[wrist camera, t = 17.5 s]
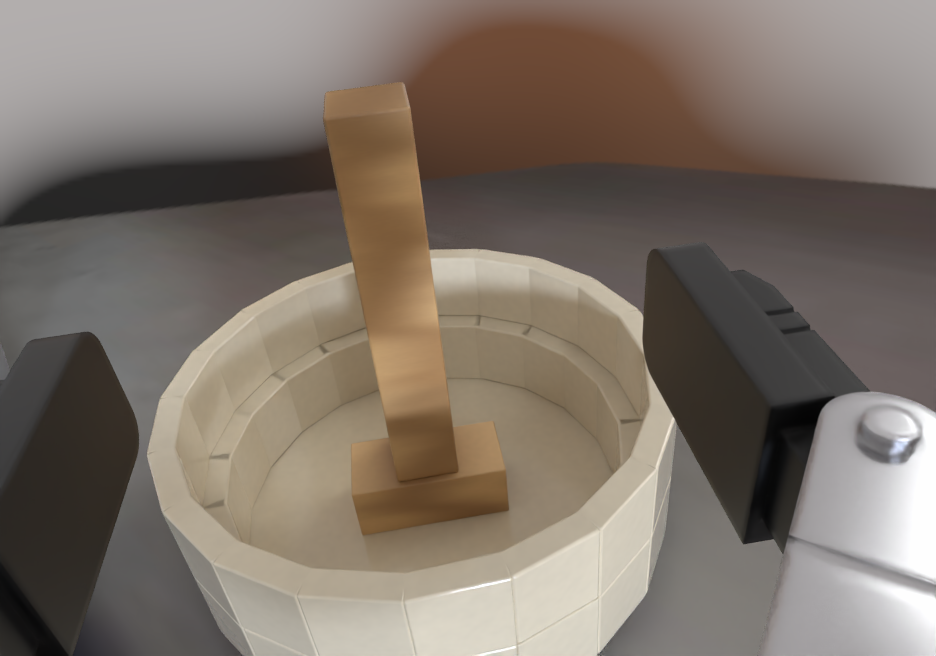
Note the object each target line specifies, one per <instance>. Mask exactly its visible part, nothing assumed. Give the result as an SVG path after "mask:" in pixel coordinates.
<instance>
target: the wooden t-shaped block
mask: <svg viewBox="0 0 936 656" xmlns="http://www.w3.org/2000/svg"><path fill="white" fill-rule="evenodd" d="M324 100H325V101H324V116H323V122H324V127H325V132H326V137H327V141H328V146H329V151H330V155H331V161H332V166H333V170H334V175H335V180H336V184H337V190H338V195H339V199H340V204H341V209H342V214H343V219H344V224H345V229H346V233H347V238H348V243H349V248H350V253H351V258H352V262H353V267H354V272H355V277H356V282H357V287H358V291H359V296H360V301H361V306H362V311H363V316H364V321H365V325H366V330H367V335H368V340H369V345H370V350H371V354H372V359H373V364H374V369H375V374H376V379H377V383H378V388H379V393H380V398H381V403H382V408H383V413H384V417H385V422H386V427H387V432H388V437H389V438H383V439H377V440H371V441H364V442H358V443H352V444H351V486H352V499H353V502H354V506H355V510H356V514H357V518H358V521H359V525H360V529H361V533H362V535H367V534H373V533H379V532H385V531H391V530H397V529H403V528H408V527H414V526H420V525H426V524H432V523H438V522H444V521H450V520H455V519H461V518H467V517H473V516H479V515H485V514H491V513H497V512H502V511H508V510H509V501H508V489H507V476H506V468H505V464H504V460H503V456H502V452H501V448H500V444H499V440H498V436H497V432H496V428H495V424H494V421H488V422H482V423H476V424H469V425H463V426H457V427H453V423H452V415H451V408H450V400H449V393H448V385H447V378H446V370H445V363H444V356H443V348H442V341H441V333H440V326H439V318H438V311H437V304H436V296H435V289H434V281H433V274H432V266H431V259H430V251H429V244H428V237H427V229H426V222H425V214H424V207H423V199H422V192H421V185H420V177H419V170H418V163H417V155H416V148H415V140H414V132H413V125H412V118H411V110H410V106H409V101H408V97H407V93H406V88H405V85H404V83H402V82H398V83H391V84H383V85H375V86H368V87H360V88H353V89H345V90H337V91H330V92H326V93H325V99H324Z"/></svg>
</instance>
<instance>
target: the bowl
mask: <svg viewBox="0 0 936 656" xmlns="http://www.w3.org/2000/svg"><path fill="white" fill-rule="evenodd" d="M429 251H430V259H431V266H432V274H433V281H434V289H435V296H436V304H437V311H438V318H439V326H440V333H441V341H442V348H443V356H444V363H445V370H446V378H447V385H448V393H449V400H450V408H451V415H452V423H453V427H457V426H463V425H469V424H476V423H482V422H488V421H494V424H495V428H496V432H497V436H498V440H499V444H500V448H501V452H502V456H503V460H504V464H505V468H506V476H507V489H508V501H509V510H508V511H502V512H497V513H491V514H485V515H479V516H473V517H467V518H461V519H455V520H450V521H444V522H438V523H432V524H426V525H420V526H414V527H408V528H403V529H397V530H391V531H385V532H379V533H373V534H367V535H362V533H361V529H360V525H359V521H358V518H357V514H356V510H355V506H354V502H353V499H352V486H351V444H352V443H358V442H364V441H371V440H377V439H383V438H389V437H388V432H387V427H386V422H385V417H384V413H383V408H382V403H381V398H380V393H379V388H378V383H377V379H376V374H375V369H374V364H373V359H372V354H371V350H370V345H369V340H368V335H367V330H366V325H365V321H364V316H363V311H362V306H361V301H360V296H359V291H358V287H357V282H356V277H355V272H354V267H353V262H350V263H347V264H344V265H341V266H338V267H335V268H332V269H329V270H326V271H323V272H321V273H318V274H315V275H312V276H309V277H306V278H303V279H300V280H298V281H294V282H292V283H290V284H288V285H286V286H285V287H283V288H281V289H279V290H277V291H275V292H273V293H272V294H270V295H268V296H266V297H264V298H262V299H260V300H259V301H257V302H255V303H253V304H251V305H249V306H248V307H246V308H244V309H242V310H241V312H238V313H237V314H236V315H235V316H234V317H232V318H231V319H230V320H229V321H228V322H226V323H225V324H224V325H223V326H222V327H221V328H219V329H218V330H217V331H216V332H215V333H213V334H212V335H211V336H210V337H209V338H207V339H206V340H205V341H204V342H203V343H201V344H200V345H199V346H198V347H197V348H196V349H195V350H193V351H192V352H191V354H190V355H189V357H188V358H187V360H186V361H185V362H184V364H183V365H182V367H181V368H180V370H179V371H178V373H177V374H176V375H175V377H174V378H173V380H172V381H171V383H170V384H169V386H168V387H167V389H166V390H165V391H164V393H163V394H162V396H161V397H160V400H159V403H158V408H157V412H156V416H155V420H154V425H153V429H152V433H151V437H150V442H149V446H148V450H147V459H148V463H149V467H150V471H151V474H152V478H153V482H154V486H155V489H156V493H157V497H158V501H159V504H160V508H161V512H162V514H163V516H164V518H165V520H166V522H167V524H168V526H169V528H170V530H171V532H172V534H173V536H174V538H175V540H176V542H177V544H178V546H179V548H180V550H181V552H182V554H183V556H184V558H185V560H186V562H187V564H188V566H189V568H190V570H191V572H192V574H193V576H194V578H195V580H196V582H197V584H198V586H199V588H200V590H201V592H202V594H203V596H204V598H205V600H206V602H207V604H208V606H209V608H210V611H211V613H212V615H213V617H214V619H215V621H216V623H217V625H218V627H219V628H220V630H221V632H222V633H223V634H224V635H225V636H226V637H227V638H228V640H229V641H230V642H231V643H232V644H233V645H234V646H235V647H236V648H237V650H238V651H239V652H240V653H241V654H242V655H243V656H597V654H598V653H600V652H601V650H602V649H603V648H604V647H605V645H606V644H607V643H608V642H609V640H610V639H611V638H612V637H613V635H614V634H615V633H616V632H617V630H618V629H619V628H620V627H621V625H622V624H623V623H624V622H625V620H626V619H627V618H628V617H629V615H630V614H631V613H632V612H633V610H634V609H635V608H636V607H637V606H638V604H639V603H640V602H641V601H642V599H643V598H644V597H645V594H646V592H647V591H648V588H649V585H650V581H651V578H652V575H653V571H654V568H655V565H656V562H657V558H658V555H659V552H660V548H661V545H662V542H663V538H664V535H665V529H666V520H667V510H668V501H669V492H670V482H671V473H672V464H673V454H674V445H675V436H676V426H677V423H676V421H675V419H674V417H673V415H672V414H671V412H670V410H669V408H668V406H667V405H666V403H665V401H664V399H663V397H662V395H661V394H660V392H659V390H658V388H657V386H656V384H655V383H654V381H653V379H652V377H651V375H650V373H649V370H648V368H647V364H646V361H645V356H644V351H643V340H642V333H643V317H644V316H643V315H642V314H641V312H640V311H639V310H638V309H637V308H636V307H635V306H633V305H632V304H630V303H629V302H627V301H626V300H625V299H623V298H622V297H620V296H619V295H617V294H616V293H615V292H613V291H612V290H610V289H609V288H607V287H606V286H605V285H603V284H602V283H600V282H599V281H597V280H596V279H593V278H592V277H590V276H587V275H585V274H582V273H579V272H576V271H574V270H571V269H568V268H566V267H563V266H560V265H557V264H555V263H552V262H549V261H546V260H544V259H541V258H539V259H538V258H537V257H530V256H524V255H517V254H511V253H504V252H497V251H491V250H484V249H480V250H479V249H443V250H429Z"/></svg>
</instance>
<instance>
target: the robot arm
mask: <svg viewBox="0 0 936 656" xmlns="http://www.w3.org/2000/svg"><path fill="white" fill-rule="evenodd" d="M642 340H643V351H644V356H645V361H646V364H647V368H648V370H649V373H650V375H651V377H652V379H653V381H654V383H655V384H656V386H657V388H658V390H659V392H660V394H661V395H662V397H663V399H664V401H665V403H666V405H667V406H668V408H669V410H670V412H671V414H672V415H673V417H674V419H675V421H676V423H677V425H678V426H679V428H680V430H681V432H682V434H683V436H684V437H685V439H686V441H687V443H688V445H689V447H690V448H691V450H692V452H693V454H694V456H695V457H696V459H697V461H698V463H699V465H700V467H701V468H702V470H703V472H704V474H705V476H706V478H707V479H708V481H709V483H710V485H711V487H712V488H713V490H714V492H715V494H716V496H717V498H718V499H719V501H720V503H721V505H722V507H723V509H724V510H725V512H726V514H727V516H728V518H729V520H730V521H731V523H732V525H733V527H734V529H735V530H736V532H737V534H738V536H739V538H740V540H741V541H742V543H743V544H748V543H754V542H759V541H765V540H771V539H774V540H775V541H776V543H777V545H778V547H779V548H780V550H781V552H782V553H783V558H782V562H781V566H780V570H779V574H778V578H777V582H776V585H775V589H774V593H773V597H772V601H771V605H770V609H769V613H768V617H767V620H766V624H765V628H764V632H763V636H762V640H761V644H760V648H759V652H758V655H757V656H936V413H935V412H933V411H932V410H930V409H929V408H927V407H925V406H923V405H921V404H919V403H917V402H914V401H911V400H909V399H906V398H903V397H899V396H896V395H891V394H886V393H879V392H870V391H869V389H868V388H867V387H866V386H865V385H864V384H863V383H862V382H861V381H860V380H859V379H858V377H857V376H856V375H855V374H854V373H853V372H852V371H851V370H850V369H849V368H848V367H847V365H846V364H845V363H844V362H843V361H842V360H841V359H840V358H839V357H838V356H837V355H836V353H835V352H834V351H833V350H832V349H831V348H830V347H829V346H828V345H827V344H826V342H825V341H824V340H823V339H822V338H821V337H820V336H819V335H818V334H817V333H816V332H815V330H810V325H809V324H808V323H807V322H806V321H805V320H804V318H803V317H802V316H801V315H800V314H799V313H798V312H794V309H793V306H792V305H791V304H790V303H789V302H788V301H787V300H786V299H785V298H784V297H783V295H782V294H781V293H780V292H779V291H778V290H777V289H776V288H775V287H774V286H773V285H771V284H769V283H767V282H765V281H763V280H762V279H760V278H758V277H756V276H754V275H752V274H750V273H749V272H747V271H745V270H737V271H731V272H730V271H729V270H728V268H727V267H726V266H725V265H724V264H723V263H722V261H721V260H720V259H719V258H718V257H717V255H716V254H715V253H714V252H713V251H712V250H711V248H710V247H709V246H708V245H707V244H706V243H704V242H698V243H692V244H685V245H678V246H671V247H665V248H658V249H653V250H652V251H651V252H650V253H649V256H648V260H647V269H646V285H645V301H644V317H643V333H642ZM138 449H139V433H138V426H137V421H136V418H135V415H134V412H133V410H132V408H131V406H130V404H129V401H128V399H127V397H126V395H125V393H124V391H123V389H122V387H121V385H120V382H119V380H118V378H117V376H116V374H115V372H114V370H113V368H112V366H111V363H110V361H109V359H108V357H107V355H106V353H105V351H104V349H103V346H102V345H101V343H100V341H99V340H98V338H97V337H96V336H95V335H94V334H92V333H90V332H81V333H74V334H68V335H61V336H54V337H47V338H41V339H34V340H31V341H29V342H28V343H27V344H26V346H25V347H24V349H23V350H22V352H21V354H20V355H19V357H18V359H17V360H16V362H15V363H14V365H13V367H12V368H11V370H10V372H9V373H8V375H7V377H6V378H5V380H0V656H72V655H73V652H74V649H75V646H76V643H77V640H78V637H79V634H80V631H81V628H82V625H83V621H84V618H85V615H86V612H87V609H88V606H89V603H90V600H91V597H92V594H93V591H94V588H95V584H96V581H97V578H98V575H99V572H100V569H101V566H102V563H103V560H104V557H105V554H106V551H107V547H108V544H109V541H110V538H111V535H112V532H113V529H114V526H115V523H116V520H117V517H118V514H119V510H120V507H121V504H122V501H123V498H124V495H125V492H126V489H127V486H128V483H129V480H130V477H131V473H132V470H133V467H134V464H135V461H136V458H137V454H138Z"/></svg>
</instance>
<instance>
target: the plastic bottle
mask: <svg viewBox="0 0 936 656" xmlns="http://www.w3.org/2000/svg"><path fill="white" fill-rule="evenodd" d="M9 372H10V370H9V367H8V363H7V360H6V357H5V354H4V350H3V347H2V344H1V343H0V380H5V378H6V377H7V375H8V373H9Z"/></svg>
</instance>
